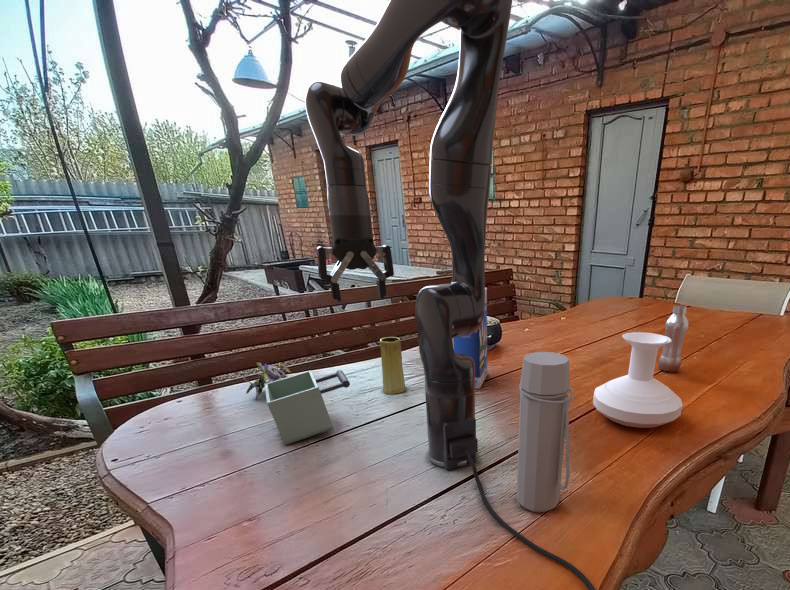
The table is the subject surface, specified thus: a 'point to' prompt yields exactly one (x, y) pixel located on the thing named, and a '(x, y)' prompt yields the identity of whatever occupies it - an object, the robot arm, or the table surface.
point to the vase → (392, 365)
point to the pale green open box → (301, 405)
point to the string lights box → (476, 348)
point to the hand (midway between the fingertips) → (360, 300)
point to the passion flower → (267, 376)
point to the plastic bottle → (674, 339)
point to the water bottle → (543, 430)
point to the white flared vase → (639, 388)
